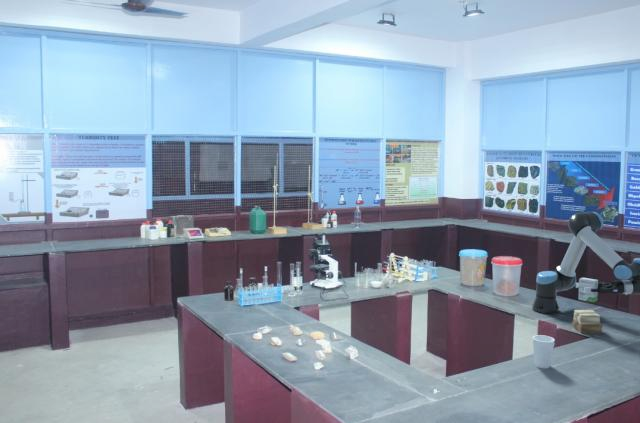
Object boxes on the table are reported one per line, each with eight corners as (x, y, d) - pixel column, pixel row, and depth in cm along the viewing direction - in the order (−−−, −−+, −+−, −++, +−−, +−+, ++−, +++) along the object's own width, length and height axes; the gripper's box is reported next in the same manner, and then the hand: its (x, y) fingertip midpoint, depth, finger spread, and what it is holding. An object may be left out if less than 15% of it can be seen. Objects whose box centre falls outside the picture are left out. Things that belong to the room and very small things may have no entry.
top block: (573, 318, 315) (574, 309, 314) (592, 318, 314) (592, 310, 313) (580, 324, 305) (580, 315, 304) (599, 324, 304) (600, 315, 303)
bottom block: (572, 327, 316) (572, 318, 315) (592, 327, 315) (592, 318, 315) (581, 333, 305) (581, 324, 304) (601, 333, 304) (602, 324, 304)
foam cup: (534, 369, 258) (535, 341, 256) (529, 361, 267) (530, 334, 265) (555, 370, 256) (557, 342, 255) (550, 362, 265) (551, 335, 264)
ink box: (597, 300, 306) (599, 279, 305) (594, 302, 303) (595, 281, 301) (581, 297, 313) (582, 276, 311) (577, 299, 309) (578, 278, 308)
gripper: (632, 299, 296) (589, 299, 296) (610, 288, 318) (571, 289, 318) (632, 285, 296) (590, 286, 296) (611, 275, 317) (571, 276, 317)
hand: (580, 287), depth 307 cm, fingers closed on ink box, 9 cm apart
